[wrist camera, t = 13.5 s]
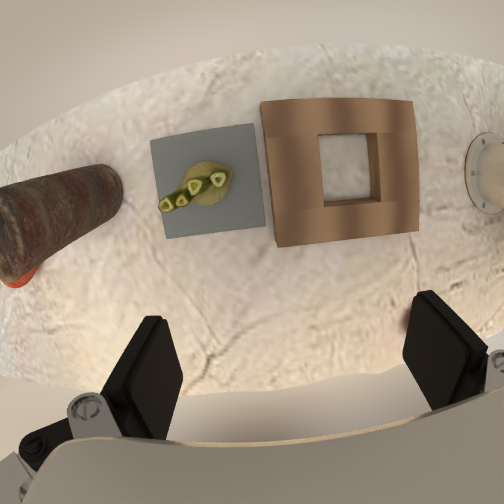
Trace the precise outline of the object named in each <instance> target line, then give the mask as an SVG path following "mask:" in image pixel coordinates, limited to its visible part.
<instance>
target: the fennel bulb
mask: <svg viewBox="0 0 504 504" xmlns="http://www.w3.org/2000/svg"><path fill="white" fill-rule="evenodd" d="M232 176H233V170H232V169H231V168H229V167H228V166H223V165H220V164H218V163H215V162H211V161H202V162H198V163H196V164H194V165H192V166H191V167H190V168H188V170H187V171H186V172H185V174H184V177H183V179H182V181H181V183H180V185H179V186H178V187H177V189H176V191H175V192H173V193H171V194H169V195H167V196H165V197H163V198H162V199H161V200H160V202H159V205H158V209H159V210H160V211H161V212H163V213H168V212H172V211H174V210H176V209H177V208H179V207H185V206H187V205H188V204H189V203H193V204H197V205H200V206H212V205H215V204H217V203H218V202H220V201H221V200H222V199H223V198H224V197H225V196H226V194H227V193H228V190H229V187H230V184H231V180H232Z"/></svg>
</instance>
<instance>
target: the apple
mask: <svg viewBox="0 0 504 504" xmlns="http://www.w3.org/2000/svg"><path fill="white" fill-rule="evenodd" d="M36 268H37V266H36V267H34V268H33V269H32V270H30V271H29V272H28V273H26V274H25V275H24V276H22V277H21V278H20V279H18V280H17V281H15V282H12V283H8V282H4V281H3V280H2V279H1V278H0V280H1V281H2V282H3V283H4V284H5V285H7V286H8V287H11V288H20V287H22V286H24V285H26V284H27V283H28V282H29V281H30V280H31V279H32V277H33V275H34V273H35V271H36Z"/></svg>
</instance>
